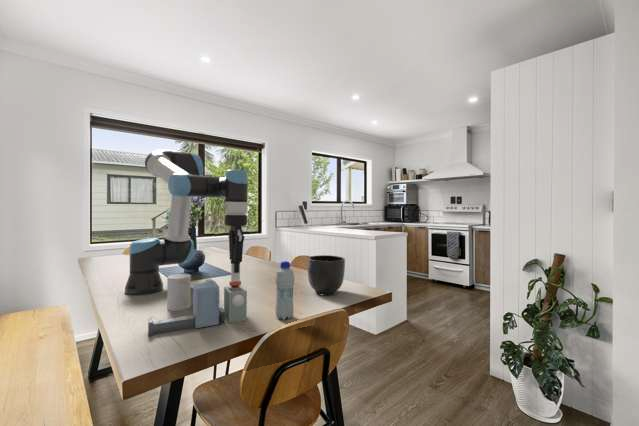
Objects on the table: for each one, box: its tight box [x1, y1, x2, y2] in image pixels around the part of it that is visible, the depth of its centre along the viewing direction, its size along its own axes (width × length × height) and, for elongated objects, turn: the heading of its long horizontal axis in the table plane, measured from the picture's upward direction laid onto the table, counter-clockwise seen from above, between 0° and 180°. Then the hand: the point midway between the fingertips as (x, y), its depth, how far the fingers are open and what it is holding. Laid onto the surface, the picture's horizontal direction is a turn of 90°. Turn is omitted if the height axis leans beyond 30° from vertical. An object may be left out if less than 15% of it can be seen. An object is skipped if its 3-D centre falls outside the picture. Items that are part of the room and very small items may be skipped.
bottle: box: [275, 260, 295, 321], centre depth 109 cm, size 7×7×20 cm
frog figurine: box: [199, 278, 216, 284], centre depth 135 cm, size 6×7×7 cm
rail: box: [147, 306, 226, 337], centre depth 99 cm, size 5×22×4 cm, turn 119°
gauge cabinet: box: [223, 285, 248, 323], centre depth 108 cm, size 8×6×10 cm
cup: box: [166, 273, 192, 312], centre depth 118 cm, size 8×8×12 cm
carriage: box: [192, 281, 220, 329], centre depth 102 cm, size 8×7×13 cm
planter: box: [307, 254, 346, 296], centre depth 141 cm, size 17×17×16 cm
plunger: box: [228, 280, 242, 291], centre depth 108 cm, size 4×4×8 cm
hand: (235, 281), depth 108 cm, fingers closed
